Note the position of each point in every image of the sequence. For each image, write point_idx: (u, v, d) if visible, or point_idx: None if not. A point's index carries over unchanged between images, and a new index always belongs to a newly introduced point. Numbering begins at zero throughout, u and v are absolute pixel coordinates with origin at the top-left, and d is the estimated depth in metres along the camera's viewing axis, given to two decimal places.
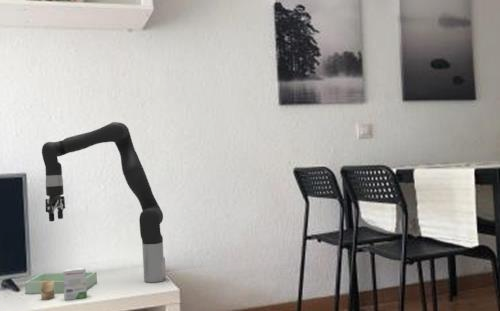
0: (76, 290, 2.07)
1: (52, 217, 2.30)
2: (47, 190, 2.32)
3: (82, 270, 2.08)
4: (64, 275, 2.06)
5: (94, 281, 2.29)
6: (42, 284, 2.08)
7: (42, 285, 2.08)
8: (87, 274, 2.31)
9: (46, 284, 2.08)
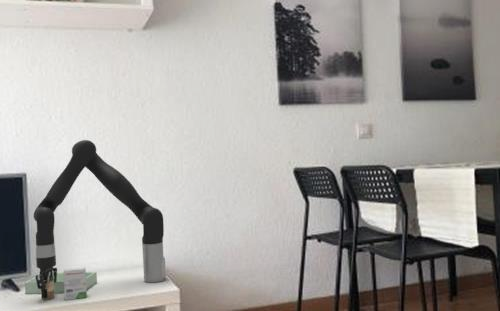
0: (76, 290, 2.07)
1: (45, 294, 2.07)
2: (37, 262, 2.07)
3: (82, 270, 2.08)
4: (64, 275, 2.06)
5: (94, 281, 2.29)
6: None
7: None
8: (87, 274, 2.31)
9: None
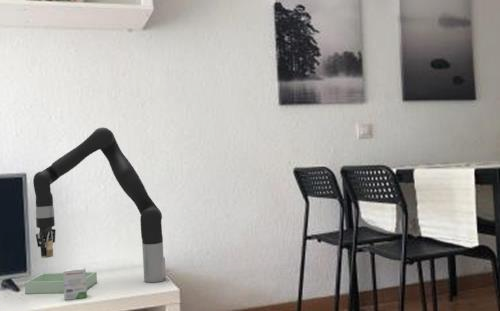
0: (76, 290, 2.07)
1: (44, 252, 2.21)
2: (37, 222, 2.22)
3: (82, 270, 2.08)
4: (64, 275, 2.06)
5: (94, 281, 2.29)
6: None
7: None
8: (87, 274, 2.31)
9: None
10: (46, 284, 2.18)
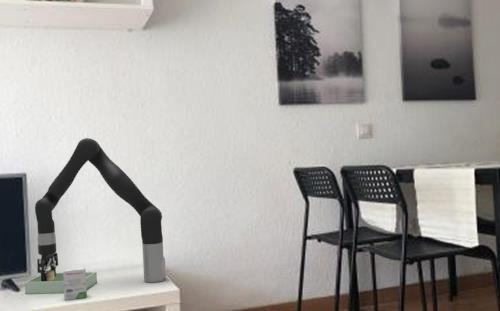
0: (76, 290, 2.07)
1: (44, 277, 2.21)
2: (39, 249, 2.23)
3: (82, 270, 2.08)
4: (64, 275, 2.06)
5: (94, 281, 2.29)
6: None
7: None
8: (87, 274, 2.31)
9: (47, 274, 2.23)
10: (46, 284, 2.18)
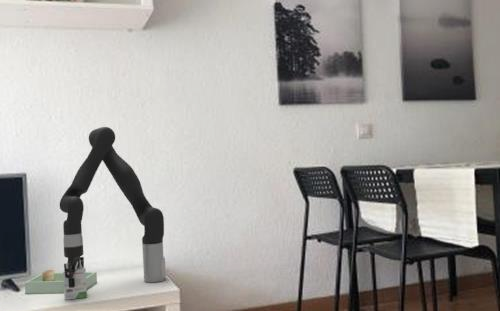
0: (76, 289, 2.07)
1: (72, 283, 2.05)
2: (65, 251, 2.06)
3: (82, 270, 2.08)
4: (64, 275, 2.06)
5: (94, 281, 2.29)
6: (43, 274, 2.23)
7: (43, 275, 2.23)
8: (87, 274, 2.31)
9: (46, 274, 2.23)
10: (46, 284, 2.18)
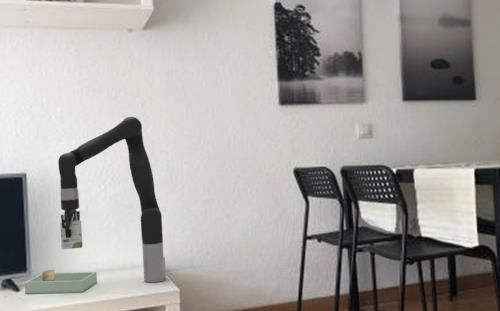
0: (72, 240, 2.22)
1: (69, 233, 2.21)
2: (62, 204, 2.21)
3: (78, 222, 2.23)
4: (61, 226, 2.21)
5: (94, 281, 2.29)
6: (43, 273, 2.24)
7: (43, 274, 2.24)
8: (87, 274, 2.31)
9: (46, 274, 2.23)
10: (46, 284, 2.18)
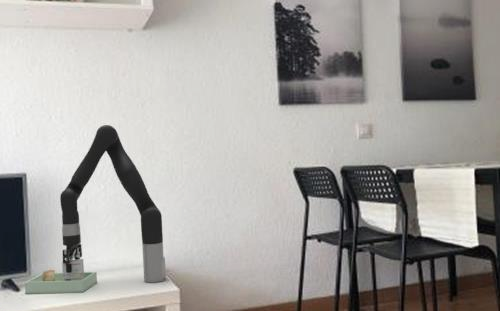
0: (74, 279, 2.22)
1: (69, 268, 2.20)
2: (64, 240, 2.22)
3: (79, 261, 2.23)
4: (63, 265, 2.22)
5: (94, 281, 2.29)
6: (43, 273, 2.24)
7: (43, 274, 2.24)
8: (87, 274, 2.31)
9: (46, 274, 2.23)
10: (46, 284, 2.18)
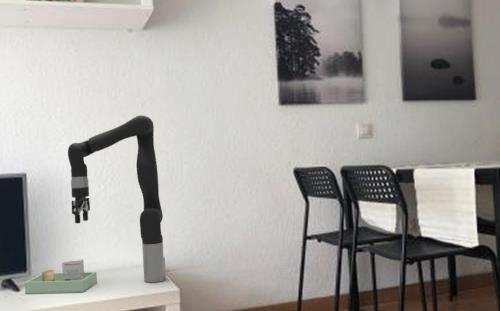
0: (74, 279, 2.22)
1: (78, 219, 2.27)
2: (73, 192, 2.29)
3: (79, 261, 2.23)
4: (63, 265, 2.22)
5: (94, 281, 2.29)
6: (42, 274, 2.24)
7: (42, 275, 2.24)
8: (87, 274, 2.31)
9: (44, 274, 2.23)
10: (46, 284, 2.18)
